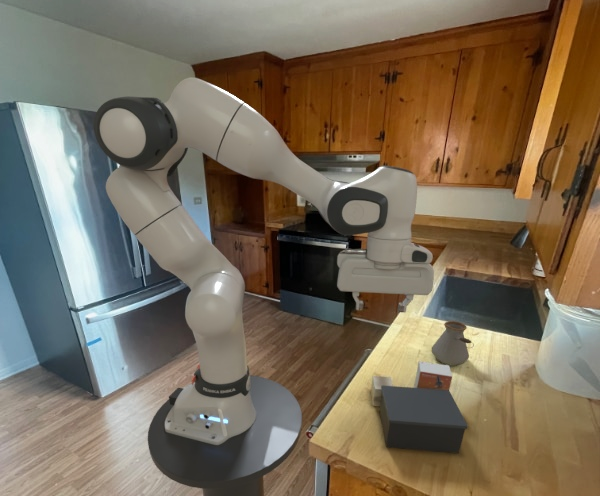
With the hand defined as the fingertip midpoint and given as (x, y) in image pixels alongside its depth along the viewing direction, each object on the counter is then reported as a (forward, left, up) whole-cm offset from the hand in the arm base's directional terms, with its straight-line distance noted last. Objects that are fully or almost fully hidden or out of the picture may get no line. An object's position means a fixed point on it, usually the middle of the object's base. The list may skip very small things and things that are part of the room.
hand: (380, 310), depth 74 cm
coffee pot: (+29, +25, -29) cm, 48 cm away
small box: (+17, +7, -29) cm, 34 cm away
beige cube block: (+4, +6, -29) cm, 30 cm away
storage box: (+11, -5, -29) cm, 31 cm away
